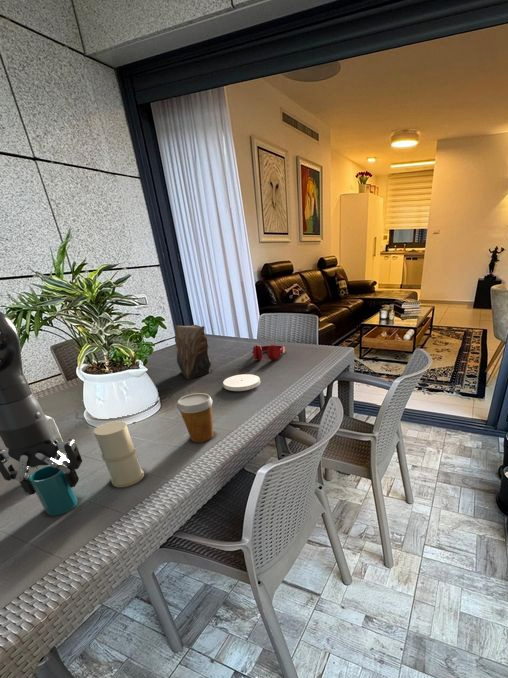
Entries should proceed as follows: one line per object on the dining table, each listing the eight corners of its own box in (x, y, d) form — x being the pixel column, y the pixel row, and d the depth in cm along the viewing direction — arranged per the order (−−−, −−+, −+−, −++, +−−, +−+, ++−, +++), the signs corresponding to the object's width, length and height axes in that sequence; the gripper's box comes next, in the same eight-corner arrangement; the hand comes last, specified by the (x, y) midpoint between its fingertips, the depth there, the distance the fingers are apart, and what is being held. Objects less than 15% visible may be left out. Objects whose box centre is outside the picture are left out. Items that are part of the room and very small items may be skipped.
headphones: (280, 361, 162) (287, 354, 181) (279, 345, 160) (286, 340, 178) (248, 361, 163) (259, 355, 182) (247, 346, 161) (257, 341, 180)
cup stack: (105, 485, 83) (84, 433, 77) (126, 468, 89) (109, 419, 83) (130, 489, 82) (111, 437, 75) (150, 471, 88) (134, 421, 81)
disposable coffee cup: (220, 427, 107) (213, 391, 102) (217, 443, 99) (209, 404, 93) (188, 431, 106) (179, 394, 100) (182, 447, 98) (172, 408, 92)
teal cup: (39, 513, 75) (21, 479, 71) (63, 496, 80) (47, 463, 76) (61, 517, 74) (44, 483, 70) (84, 499, 79) (69, 466, 74)
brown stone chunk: (178, 372, 155) (167, 326, 146) (206, 366, 161) (198, 321, 152) (187, 379, 146) (176, 331, 137) (216, 373, 152) (207, 326, 143)
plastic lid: (222, 383, 141) (221, 377, 140) (257, 378, 145) (256, 372, 144) (225, 395, 129) (224, 389, 128) (263, 390, 133) (262, 383, 132)
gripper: (68, 406, 72) (96, 472, 79) (-14, 416, 69) (23, 484, 76) (54, 422, 65) (86, 492, 73) (-37, 434, 62) (6, 507, 70)
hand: (54, 488), depth 75 cm, fingers open, 7 cm apart
